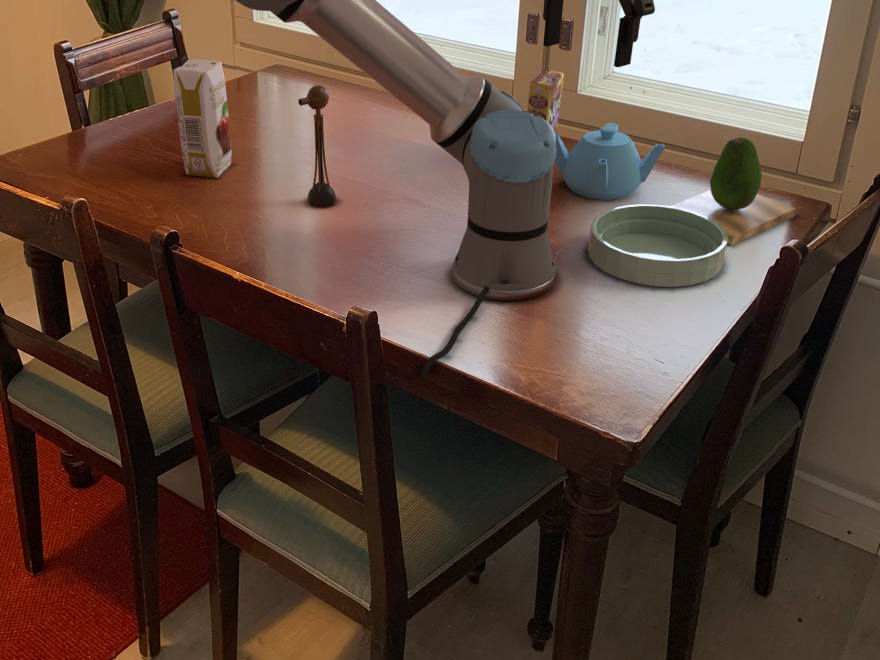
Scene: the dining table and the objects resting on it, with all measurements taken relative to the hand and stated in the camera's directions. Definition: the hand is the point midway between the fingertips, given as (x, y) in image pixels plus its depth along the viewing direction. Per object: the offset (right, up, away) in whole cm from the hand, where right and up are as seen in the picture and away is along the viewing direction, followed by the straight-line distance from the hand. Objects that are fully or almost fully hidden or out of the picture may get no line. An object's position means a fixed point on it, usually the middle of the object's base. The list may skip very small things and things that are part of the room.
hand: (585, 54), depth 146 cm
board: (+28, -19, +23) cm, 41 cm away
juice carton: (-62, -7, +39) cm, 74 cm away
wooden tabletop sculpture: (-41, -16, +27) cm, 52 cm away
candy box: (0, -4, +45) cm, 45 cm away
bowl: (+13, -28, +10) cm, 32 cm away
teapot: (+9, -12, +33) cm, 36 cm away
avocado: (+28, -18, +22) cm, 40 cm away
